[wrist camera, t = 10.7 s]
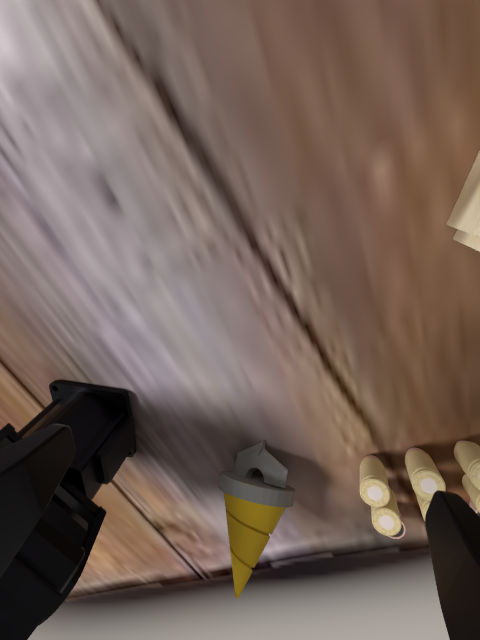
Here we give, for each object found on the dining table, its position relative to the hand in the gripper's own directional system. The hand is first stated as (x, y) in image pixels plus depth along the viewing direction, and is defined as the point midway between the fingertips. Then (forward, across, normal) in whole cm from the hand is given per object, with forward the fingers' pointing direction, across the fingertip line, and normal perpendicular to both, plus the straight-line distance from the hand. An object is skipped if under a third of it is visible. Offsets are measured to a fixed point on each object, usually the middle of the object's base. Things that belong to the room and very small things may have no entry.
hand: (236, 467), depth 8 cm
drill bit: (+13, 0, +15) cm, 20 cm away
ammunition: (+13, -11, +12) cm, 21 cm away
